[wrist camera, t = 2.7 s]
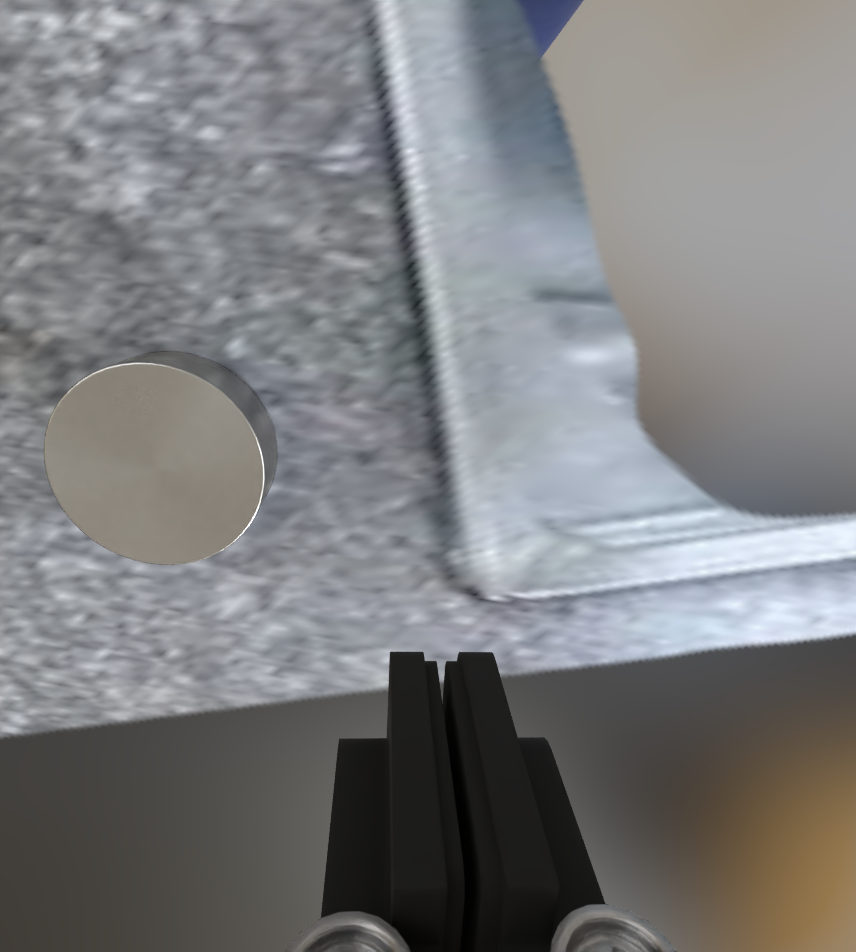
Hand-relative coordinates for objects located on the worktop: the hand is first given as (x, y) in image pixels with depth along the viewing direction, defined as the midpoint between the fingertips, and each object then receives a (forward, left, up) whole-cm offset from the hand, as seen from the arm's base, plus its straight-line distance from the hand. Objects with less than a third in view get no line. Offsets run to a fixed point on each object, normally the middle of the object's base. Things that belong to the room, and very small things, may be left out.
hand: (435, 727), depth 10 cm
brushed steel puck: (+4, -7, -14) cm, 16 cm away
